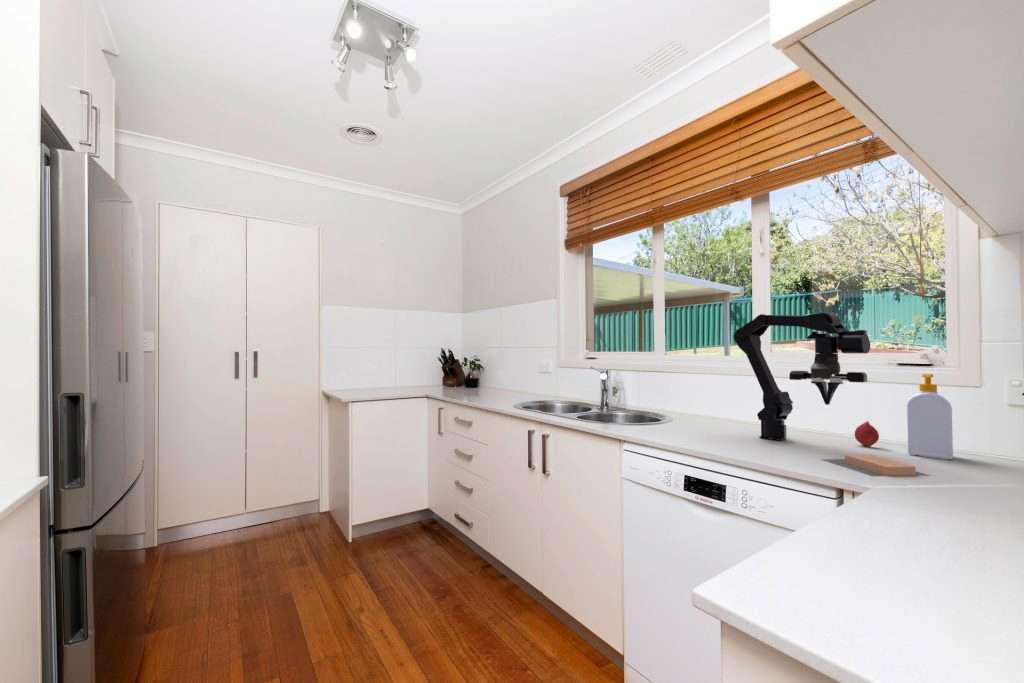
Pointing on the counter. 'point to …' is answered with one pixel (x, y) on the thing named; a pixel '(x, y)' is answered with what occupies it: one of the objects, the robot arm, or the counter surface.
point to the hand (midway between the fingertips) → (827, 404)
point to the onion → (866, 434)
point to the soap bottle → (929, 423)
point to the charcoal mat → (842, 463)
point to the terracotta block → (880, 465)
